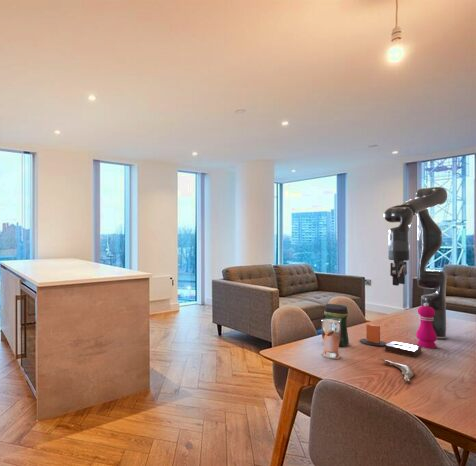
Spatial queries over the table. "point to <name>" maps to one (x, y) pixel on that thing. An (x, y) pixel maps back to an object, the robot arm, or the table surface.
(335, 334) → the beer glass
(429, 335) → the pepper mill
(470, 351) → the table surface
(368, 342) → the coaster
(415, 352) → the holder
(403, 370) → the jawbone
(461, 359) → the table surface
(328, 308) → the coffee jar
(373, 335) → the orange rectangular block
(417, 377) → the table surface
